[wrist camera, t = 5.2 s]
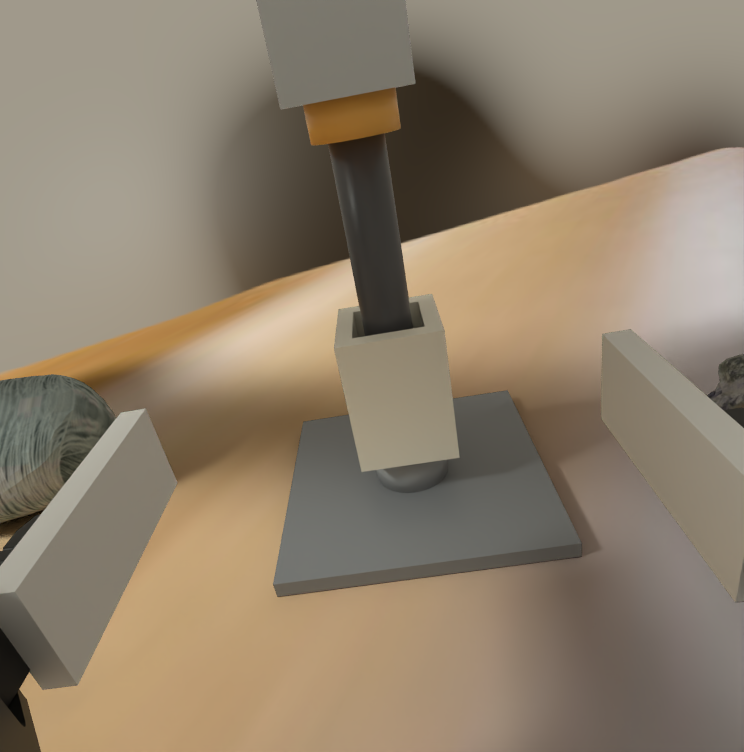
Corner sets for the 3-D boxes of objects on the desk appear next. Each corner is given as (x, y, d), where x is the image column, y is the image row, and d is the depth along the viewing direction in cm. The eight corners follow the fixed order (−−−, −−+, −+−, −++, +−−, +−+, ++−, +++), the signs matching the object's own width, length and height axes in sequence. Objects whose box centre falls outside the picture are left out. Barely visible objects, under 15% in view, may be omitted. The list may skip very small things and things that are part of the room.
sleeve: (459, 457, 27) (444, 330, 24) (361, 472, 28) (333, 348, 25) (446, 406, 32) (431, 293, 29) (361, 419, 32) (338, 309, 29)
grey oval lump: (151, 390, 40) (40, 309, 32) (148, 509, 35) (13, 446, 27) (2, 454, 42) (-137, 393, 34) (-24, 576, 37) (-196, 537, 29)
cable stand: (581, 556, 24) (587, -114, 14) (277, 596, 25) (62, -2, 15) (508, 400, 37) (481, -15, 26) (305, 431, 38) (200, 42, 27)
